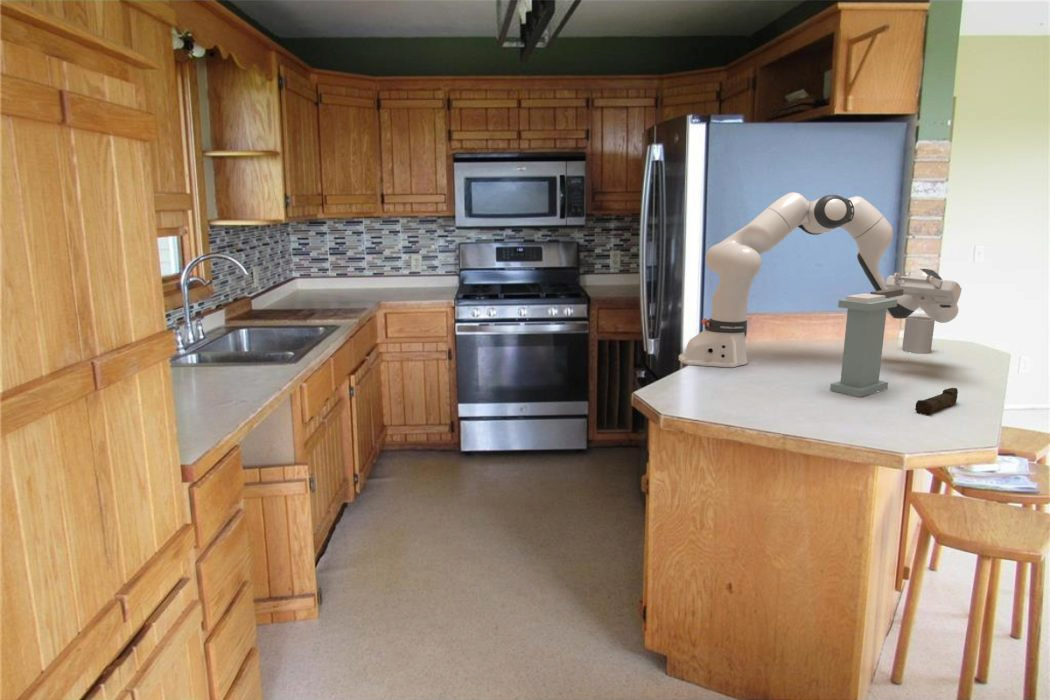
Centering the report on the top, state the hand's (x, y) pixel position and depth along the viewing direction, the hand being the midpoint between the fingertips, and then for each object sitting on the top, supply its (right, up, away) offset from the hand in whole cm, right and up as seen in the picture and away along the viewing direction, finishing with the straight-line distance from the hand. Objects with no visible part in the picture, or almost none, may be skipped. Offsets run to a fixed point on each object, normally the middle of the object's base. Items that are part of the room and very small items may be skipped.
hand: (912, 276), depth 216 cm
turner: (-15, -7, -10) cm, 19 cm away
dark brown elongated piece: (-7, -37, -25) cm, 45 cm away
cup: (+26, -22, +46) cm, 57 cm away
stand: (-19, -33, -8) cm, 39 cm away
